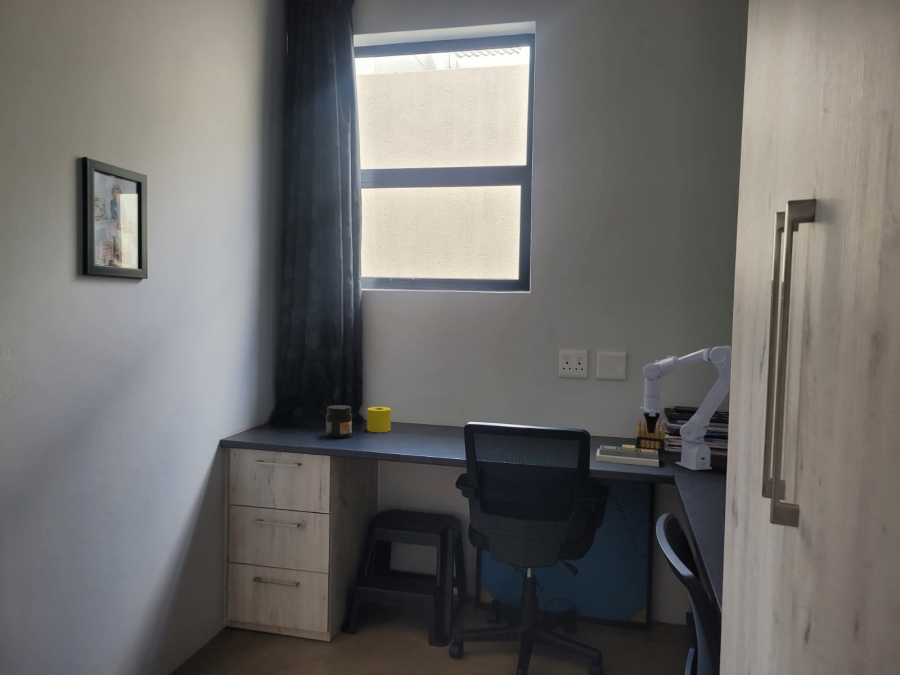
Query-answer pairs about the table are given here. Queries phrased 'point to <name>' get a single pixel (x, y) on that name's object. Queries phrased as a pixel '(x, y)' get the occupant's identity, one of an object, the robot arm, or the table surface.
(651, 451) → the terracotta key
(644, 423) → the ammunition clip
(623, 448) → the ochre key
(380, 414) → the tape roll
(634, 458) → the button pad
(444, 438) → the table surface
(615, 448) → the teal key
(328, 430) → the supplement container
